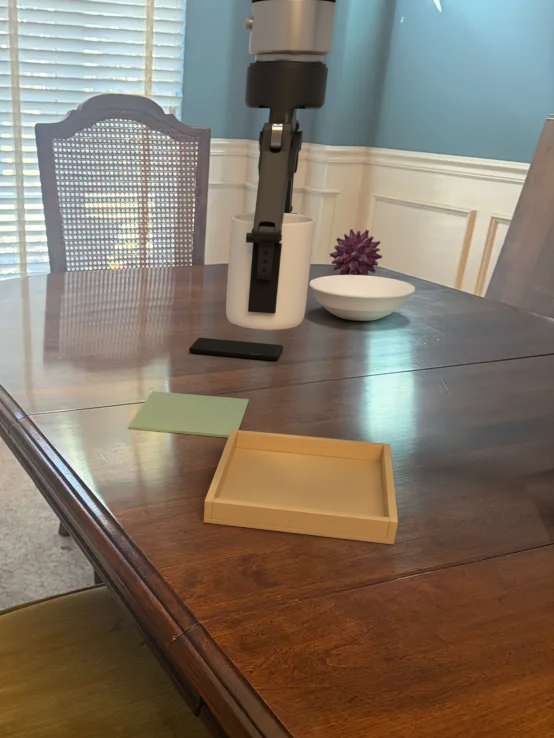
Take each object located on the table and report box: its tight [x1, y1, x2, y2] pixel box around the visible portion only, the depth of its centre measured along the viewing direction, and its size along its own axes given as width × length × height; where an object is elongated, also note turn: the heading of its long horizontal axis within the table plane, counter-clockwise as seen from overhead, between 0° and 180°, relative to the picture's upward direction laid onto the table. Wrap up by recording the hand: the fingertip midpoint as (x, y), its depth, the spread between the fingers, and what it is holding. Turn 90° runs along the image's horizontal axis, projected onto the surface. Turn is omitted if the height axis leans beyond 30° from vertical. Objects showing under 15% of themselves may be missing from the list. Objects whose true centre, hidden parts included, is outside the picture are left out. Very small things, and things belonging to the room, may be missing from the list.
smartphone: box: [188, 337, 284, 361], centre depth 130 cm, size 7×1×15 cm
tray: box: [203, 429, 399, 545], centre depth 84 cm, size 19×20×2 cm
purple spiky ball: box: [329, 228, 383, 276], centre depth 179 cm, size 12×12×12 cm
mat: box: [128, 390, 250, 439], centre depth 104 cm, size 14×14×1 cm
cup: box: [225, 211, 316, 331], centre depth 81 cm, size 8×12×10 cm
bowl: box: [308, 274, 416, 322], centre depth 149 cm, size 20×20×6 cm
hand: (267, 298), depth 82 cm, fingers closed on cup, 12 cm apart
